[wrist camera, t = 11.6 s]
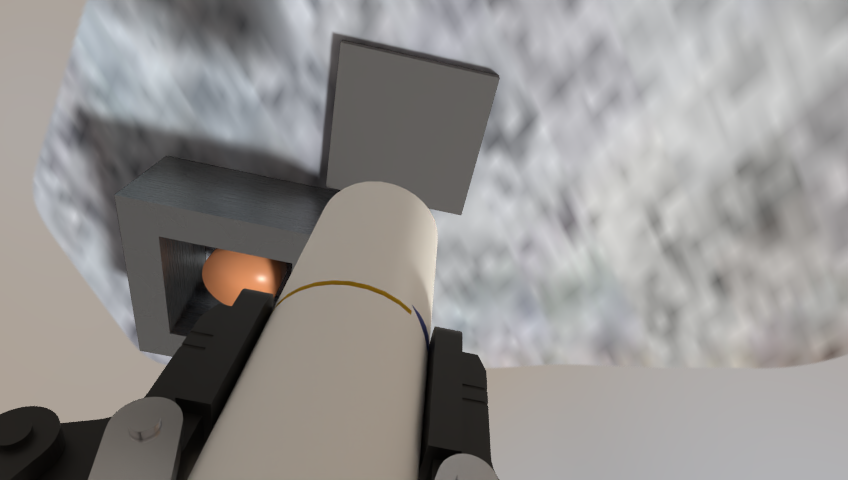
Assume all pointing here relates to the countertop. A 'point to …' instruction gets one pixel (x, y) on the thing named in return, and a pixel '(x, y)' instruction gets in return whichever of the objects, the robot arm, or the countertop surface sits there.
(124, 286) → the countertop surface
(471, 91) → the pad
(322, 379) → the tube
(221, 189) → the frame
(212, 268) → the orange dome
